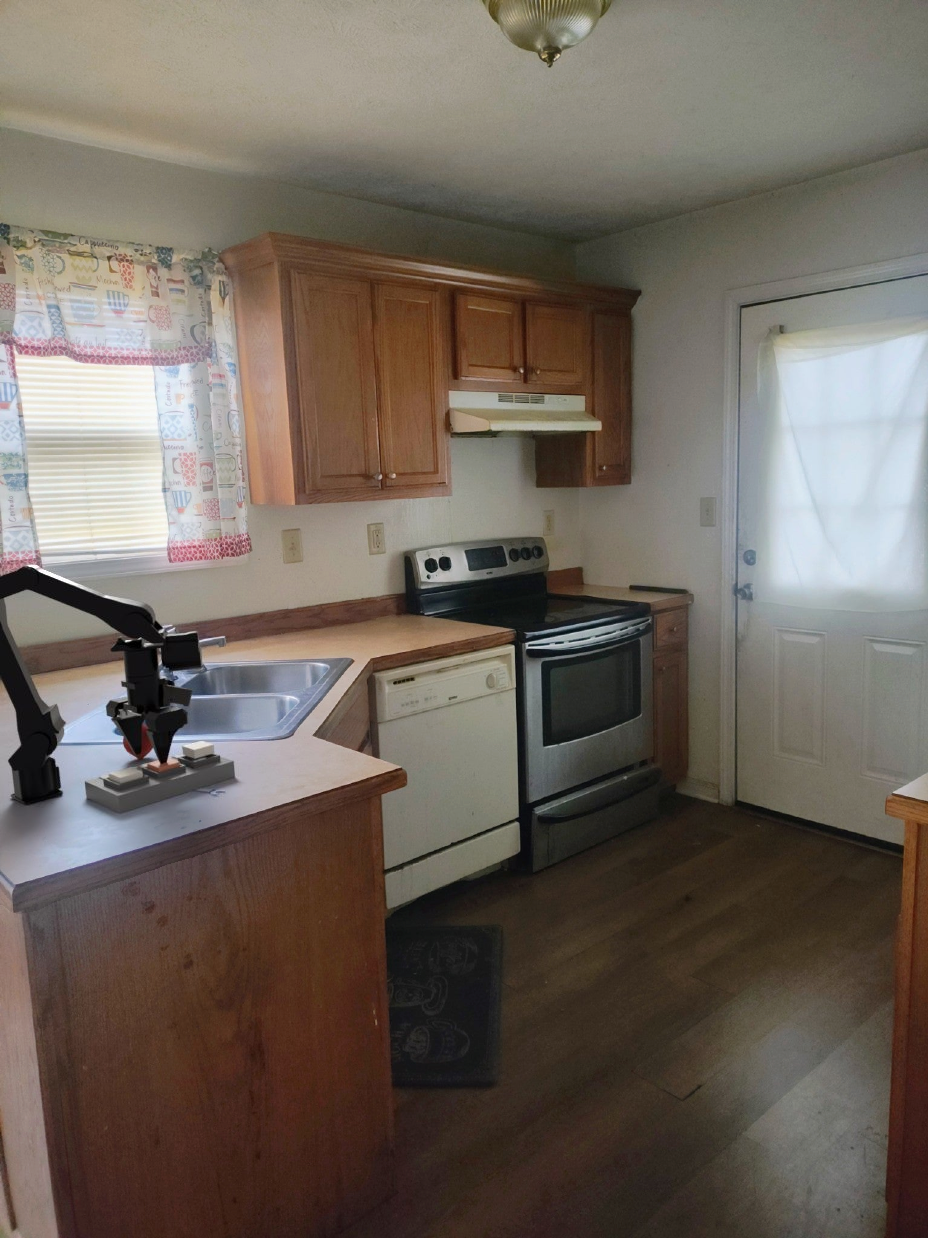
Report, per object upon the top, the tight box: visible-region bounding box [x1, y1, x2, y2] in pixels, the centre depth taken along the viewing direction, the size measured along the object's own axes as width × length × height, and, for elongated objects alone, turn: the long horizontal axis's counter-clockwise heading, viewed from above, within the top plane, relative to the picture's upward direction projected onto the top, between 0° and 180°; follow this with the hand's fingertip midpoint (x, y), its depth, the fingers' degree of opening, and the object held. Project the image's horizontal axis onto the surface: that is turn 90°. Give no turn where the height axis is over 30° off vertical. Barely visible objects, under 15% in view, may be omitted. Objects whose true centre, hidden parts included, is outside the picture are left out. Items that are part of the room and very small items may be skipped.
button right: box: [181, 740, 215, 758], centre depth 157 cm, size 4×4×2 cm
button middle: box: [146, 757, 180, 773], centre depth 152 cm, size 4×4×2 cm
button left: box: [108, 766, 143, 784], centre depth 147 cm, size 4×4×2 cm
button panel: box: [84, 752, 236, 814], centre depth 153 cm, size 22×12×4 cm, turn 138°
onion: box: [122, 723, 154, 760], centre depth 169 cm, size 6×6×8 cm
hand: (150, 758), depth 155 cm, fingers open, 9 cm apart
